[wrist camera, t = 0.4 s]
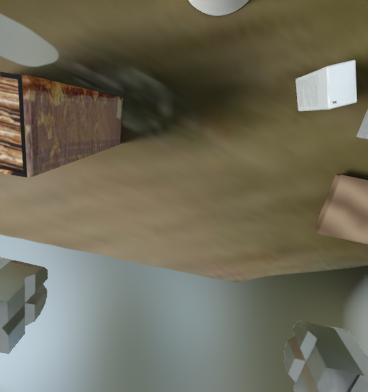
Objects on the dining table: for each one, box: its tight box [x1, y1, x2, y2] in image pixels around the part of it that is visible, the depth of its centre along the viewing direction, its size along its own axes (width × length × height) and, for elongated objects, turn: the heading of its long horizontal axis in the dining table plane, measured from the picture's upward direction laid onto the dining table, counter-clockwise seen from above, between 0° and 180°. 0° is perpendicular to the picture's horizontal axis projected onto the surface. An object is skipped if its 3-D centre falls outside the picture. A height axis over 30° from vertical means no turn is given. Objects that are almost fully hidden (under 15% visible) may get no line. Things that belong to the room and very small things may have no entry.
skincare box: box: [296, 60, 357, 111], centre depth 42 cm, size 6×4×12 cm
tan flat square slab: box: [316, 175, 368, 244], centre depth 53 cm, size 13×13×3 cm
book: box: [0, 72, 123, 177], centre depth 37 cm, size 25×9×30 cm, turn 82°
